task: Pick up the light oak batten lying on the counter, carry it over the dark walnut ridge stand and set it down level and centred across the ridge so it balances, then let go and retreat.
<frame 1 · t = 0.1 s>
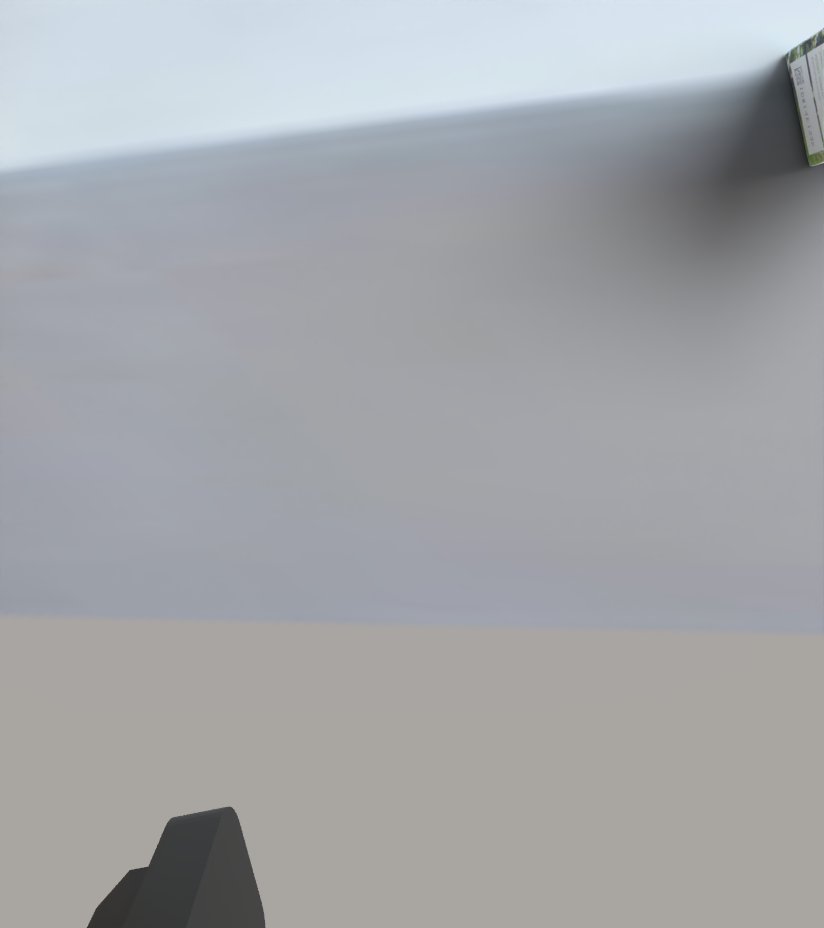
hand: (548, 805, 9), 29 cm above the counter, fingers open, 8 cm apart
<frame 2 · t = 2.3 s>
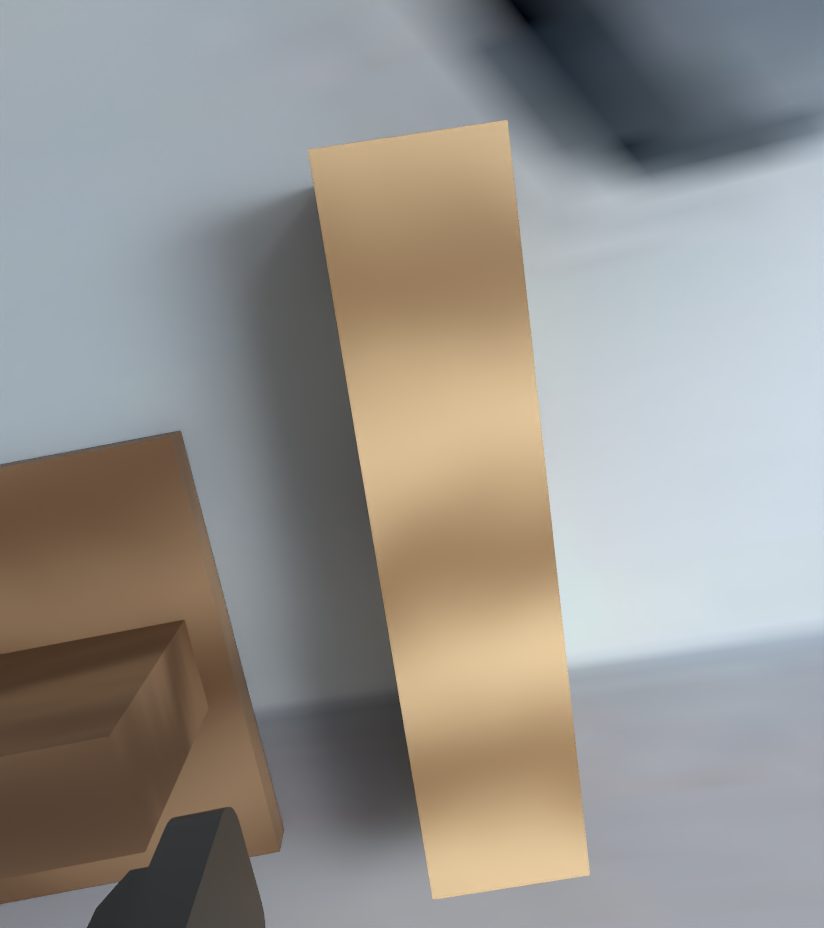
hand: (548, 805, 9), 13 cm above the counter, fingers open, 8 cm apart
ridge stand: (35, 681, 23), on the counter
oak batten: (449, 507, 22), on the counter
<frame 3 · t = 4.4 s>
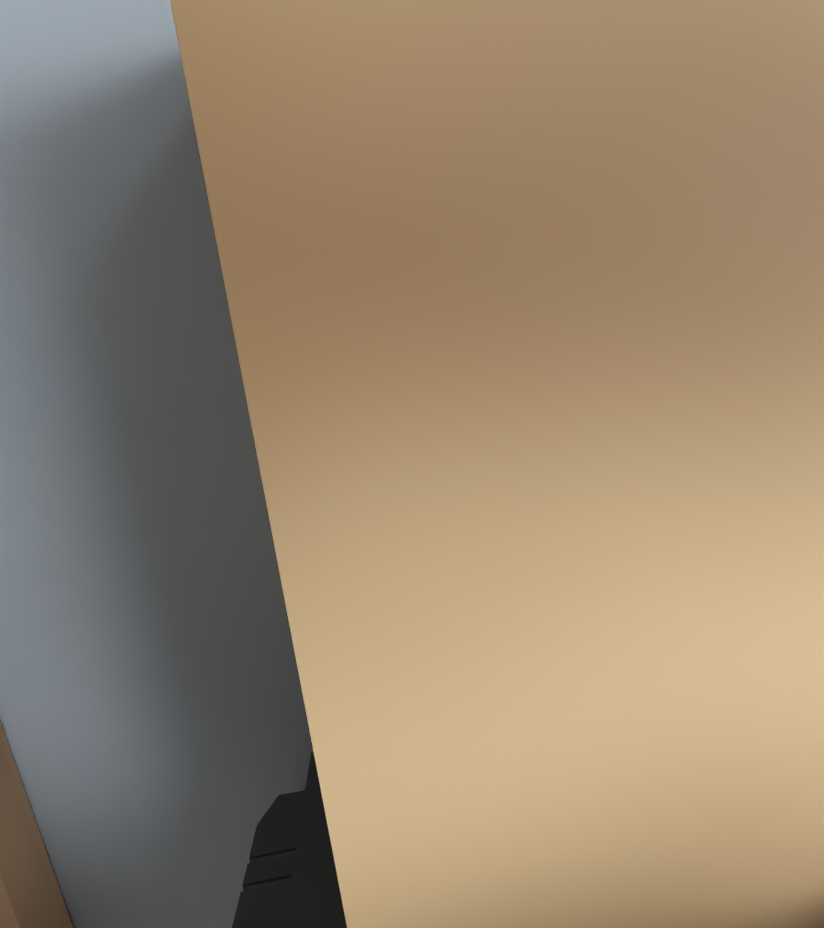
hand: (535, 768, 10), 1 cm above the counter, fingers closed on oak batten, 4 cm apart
oak batten: (527, 740, 11), on the counter, touching gripper
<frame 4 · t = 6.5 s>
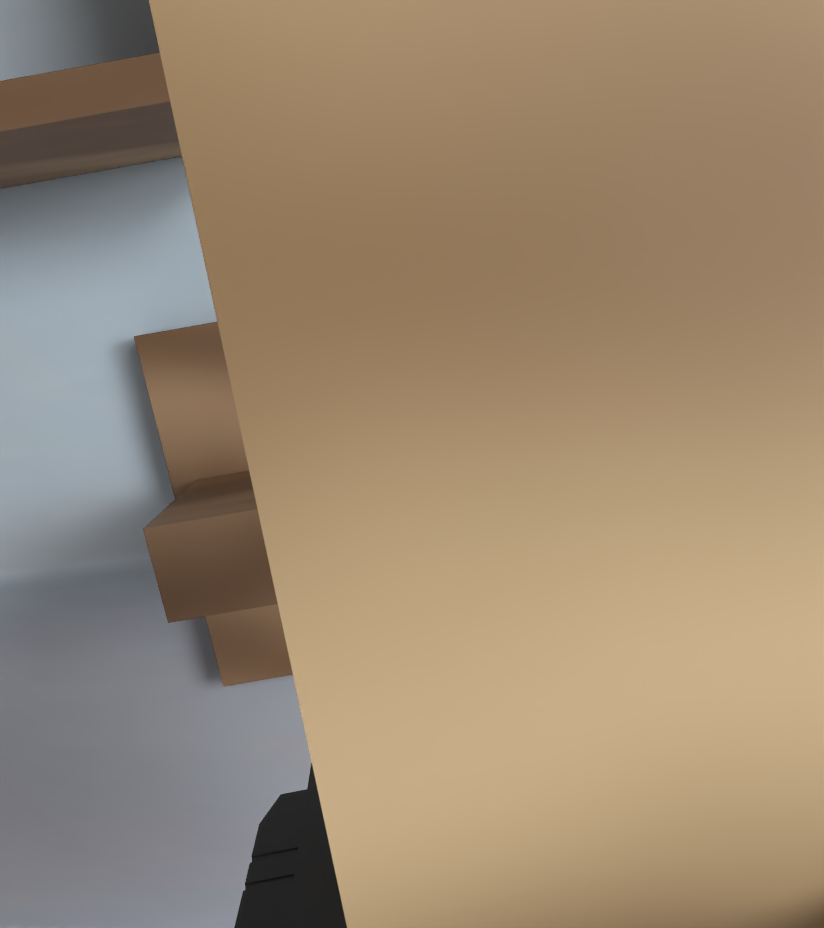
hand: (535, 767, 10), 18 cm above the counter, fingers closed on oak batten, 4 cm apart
ridge stand: (351, 485, 28), on the counter
oak batten: (530, 744, 11), point 18 cm above the counter, touching gripper
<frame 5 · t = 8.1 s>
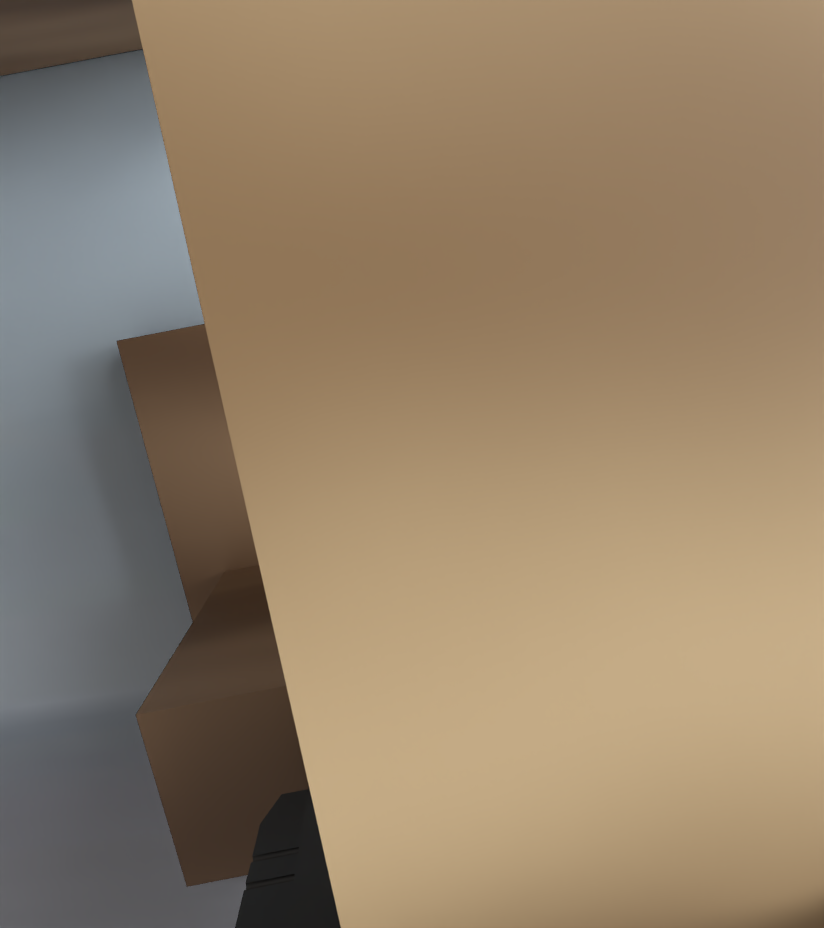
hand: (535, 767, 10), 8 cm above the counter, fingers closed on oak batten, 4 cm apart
ridge stand: (465, 571, 18), on the counter
oak batten: (528, 744, 11), point 7 cm above the counter, touching gripper
when the fingers open (8 cm above the counter, at t = 8.8 s): oak batten stays where it is, resting on ridge stand.
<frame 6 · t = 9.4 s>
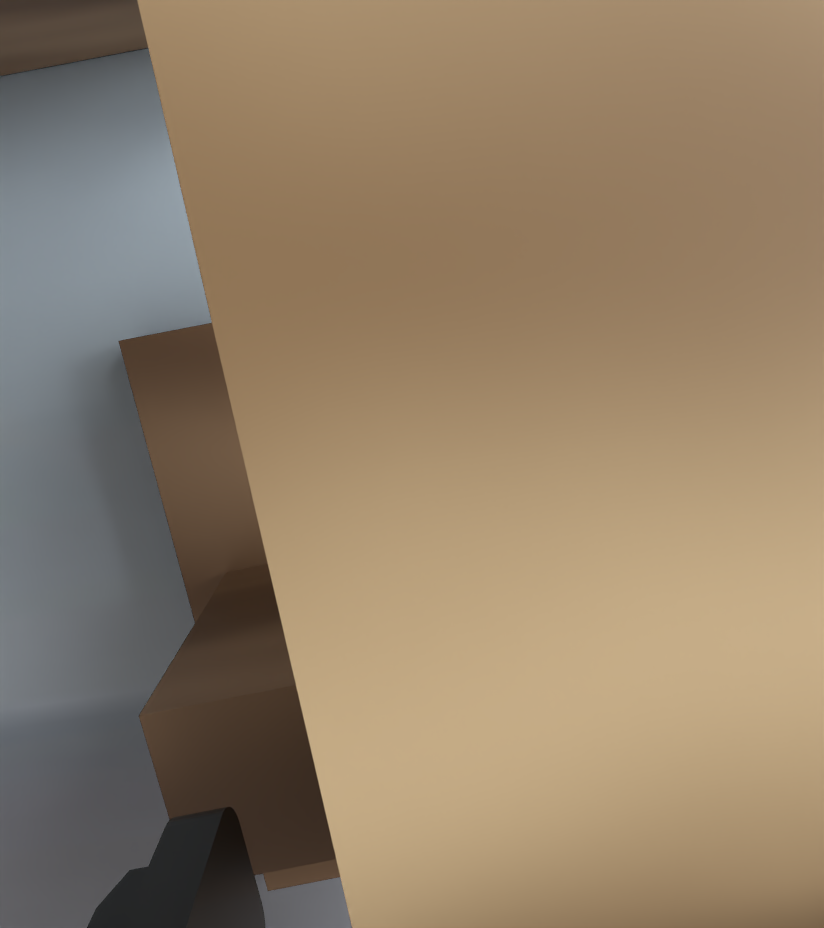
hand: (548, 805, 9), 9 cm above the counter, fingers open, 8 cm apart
ridge stand: (467, 571, 18), on the counter
oak batten: (530, 735, 11), point 7 cm above the counter, touching ridge stand
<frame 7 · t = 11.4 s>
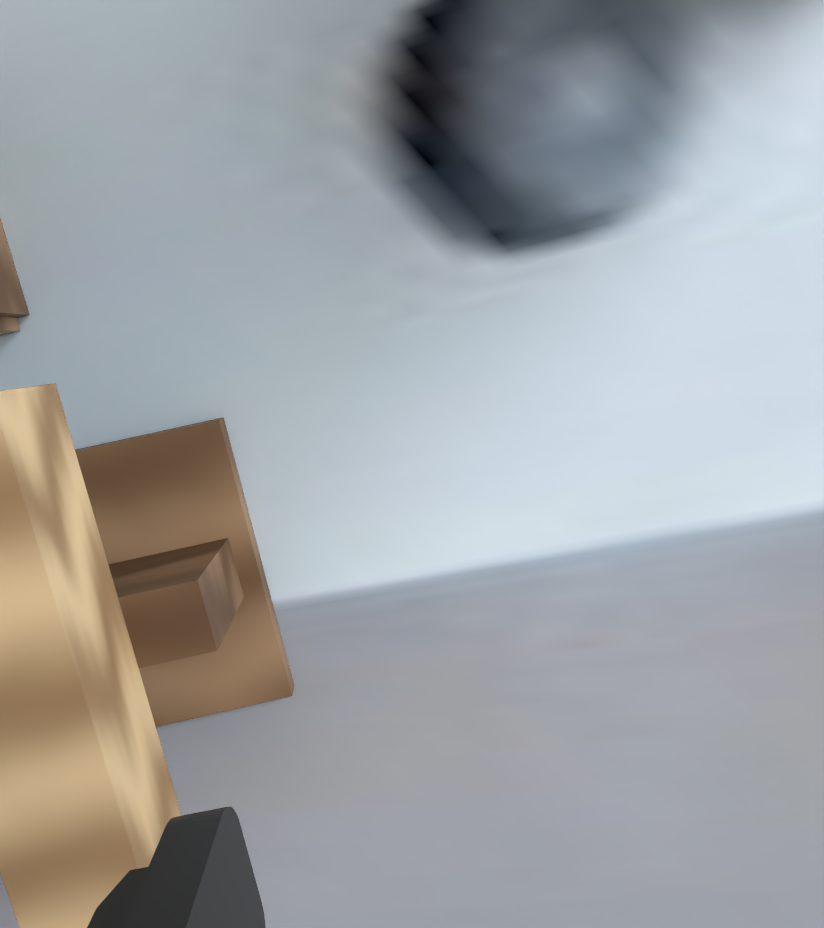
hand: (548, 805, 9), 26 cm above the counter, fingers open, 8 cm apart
ridge stand: (129, 585, 35), on the counter
oak batten: (72, 647, 28), point 7 cm above the counter, touching ridge stand
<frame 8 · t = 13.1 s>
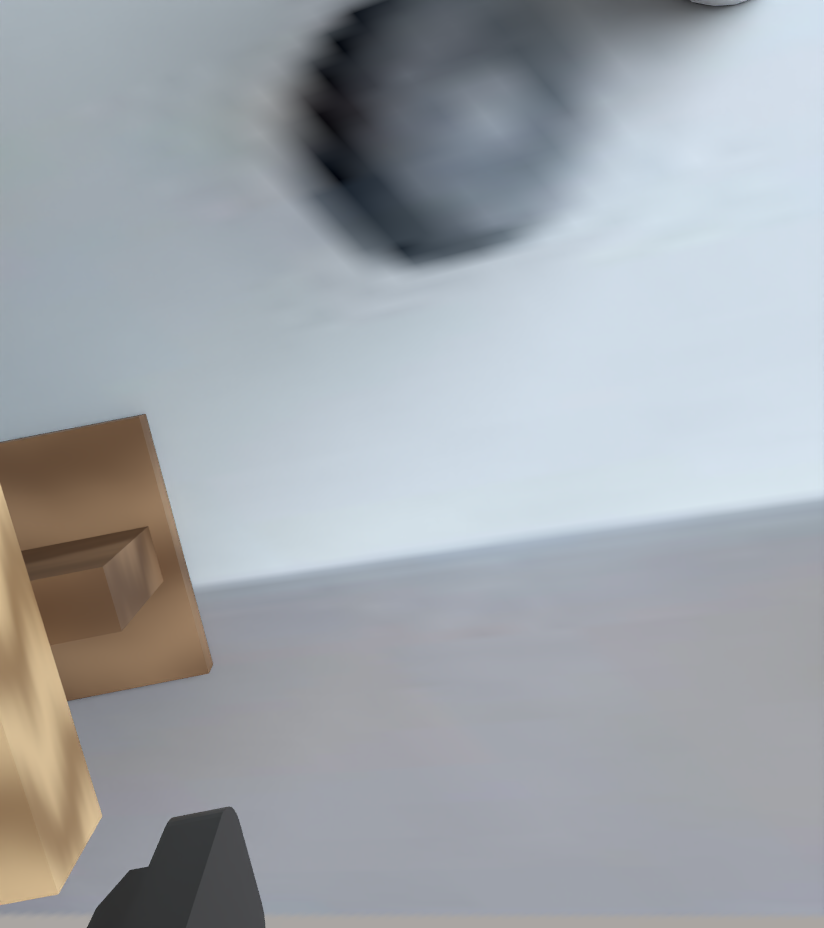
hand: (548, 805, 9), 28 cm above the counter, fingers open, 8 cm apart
ridge stand: (58, 567, 37), on the counter
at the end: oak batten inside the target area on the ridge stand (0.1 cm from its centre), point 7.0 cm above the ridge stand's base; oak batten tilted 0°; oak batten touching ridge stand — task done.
